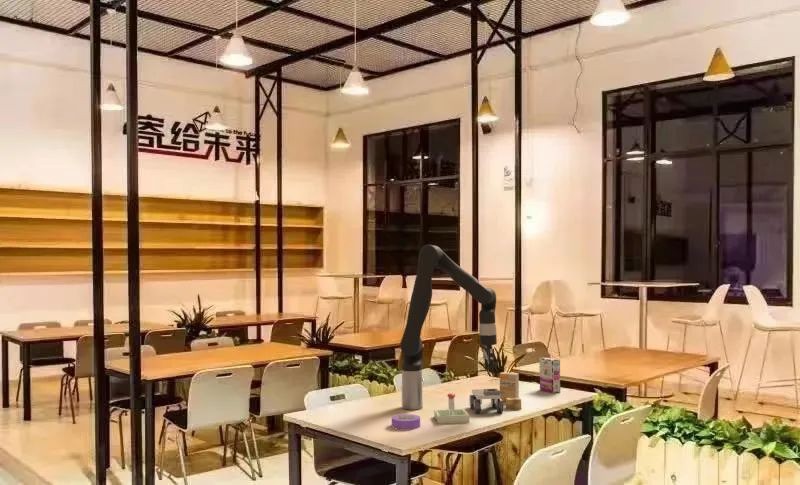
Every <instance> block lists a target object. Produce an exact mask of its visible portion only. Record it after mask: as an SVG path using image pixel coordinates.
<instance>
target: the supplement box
mask: <svg viewBox="0 0 800 485" xmlns="http://www.w3.org/2000/svg"><path fill="white" fill-rule="evenodd" d="M519 374H520V373H517V372H515V373H514V372H503V371H502V372H500V373H499V391H500V395H501V399H502V400H503V402H506V398H520V395H519V394H520V389H519V388H520V387H519V386H520V384H519V382H520V380H519V377H520V376H519Z"/></svg>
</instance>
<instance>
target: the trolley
mask: <svg viewBox="0 0 800 485" xmlns="http://www.w3.org/2000/svg"><path fill="white" fill-rule="evenodd" d="M468 400H469V402H468V403H469V406H470V409H473V410H474V414H476V415H477V414H481V411H482V410H481V409H482V407H481V406H482V405H483V400H490V404H491V407H492V409H493V408H495V409H496V413H500V414H501V413H504V401H503V400H502V399H501V395H500V389H498V388H482V389H478V388H477V389H476V388H475V389H471V394H469V399H468Z"/></svg>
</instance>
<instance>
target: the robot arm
mask: <svg viewBox="0 0 800 485" xmlns="http://www.w3.org/2000/svg"><path fill="white" fill-rule="evenodd" d="M417 262H418V263H417V270H416V275H415V280H414V284H413V287H412V288H413V289H412V292H411V297H410V301H409V305H408V313H407V319H406V325H405V328H404V331H403V334H402V337H401V340H400V344H399V347H400V351H401V353H402V362H401V363H402V364H401V408H402V410H409V411H410V410H411V411H413V410H415V411H416V410H421V409H423V406H424V405H423V360H424V345H423V344H424V343H423V339H422V338H421V336H422V329H423V325H424V323H425V320H426V318H427V316H428V313H429V310H430V307H431V304H432V299H433V298H432V297H433V285H432V284H433V283H432V282H433V280H432V279H433V272H434V269H435V268H437V269H440V270H441V271H443V272H444V273H445V274H446V275H447V276H448V277H449V278H451V280H452V281H453V282H454V283H455V284H456V285H458V286H459V287H460V288H462V289H463V290H465V291H466V292H467V293H468V294H469V295H470V296H471V297H472V298H473V299H474V300H475V301H476V302H478V303H479V304H481V305H480V306H481V307H480V310H479V313H478V321H479V324H478V333H479V334H478V336H479V338H478V339H479V341H478V342H479V345H480V346H482V357H483V361H484V369H485V370H487V371H488V373H494V372H495V371H494V370H495V368H494V364H495V363H496V361H495V358H496V357H495V348H493V346H495V345H497V343H498V340H497V339H498V338H497V337H498V336H497V325H496V314H495V313H496V308H497V294H496V291H495V290H494V289H493V288H490V287H485V286H484V285H483V284H480V282H479V280H478V279H477V278H476V277H475V276H473V275H472V274H470V273H469V272H468V271H466V270H465V269H464V268H462V267H461V266H460V265H458V264H457V263H456V262H455V261H453V260H452V259H451V258H450V257H449V256H448V255H447V254H446V253H445V252H444V251H443V250H442V249H441V248H440V247H439V246H437V245H436V244H435V245H432V244H426V245H423V246H422V247H421V248H420V251H419V253H418V261H417Z"/></svg>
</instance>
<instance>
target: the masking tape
mask: <svg viewBox="0 0 800 485" xmlns="http://www.w3.org/2000/svg"><path fill="white" fill-rule="evenodd" d="M391 427H394V428H393V429H395V428H397V429H396V430H400V429H411V430H415V429H419V428H420V427H421V416H420V415H417V414H412V413H411V414H410V413H400V414H396V415H393V416H391Z"/></svg>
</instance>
